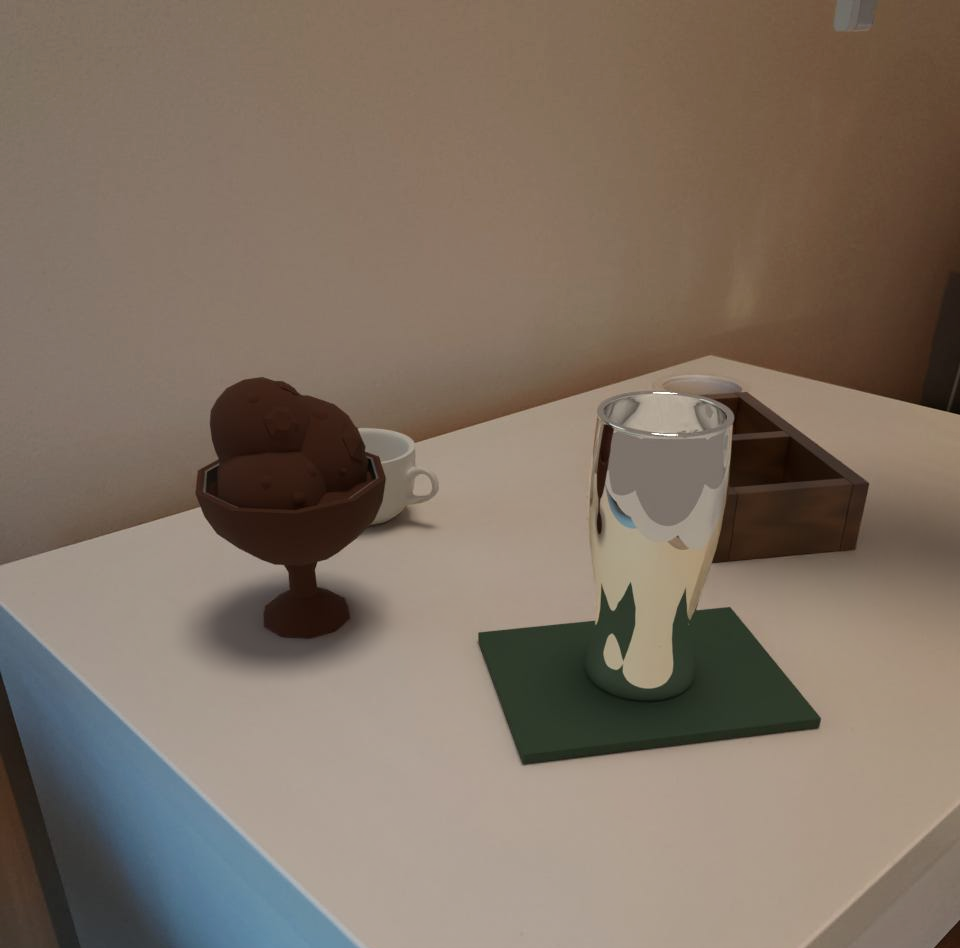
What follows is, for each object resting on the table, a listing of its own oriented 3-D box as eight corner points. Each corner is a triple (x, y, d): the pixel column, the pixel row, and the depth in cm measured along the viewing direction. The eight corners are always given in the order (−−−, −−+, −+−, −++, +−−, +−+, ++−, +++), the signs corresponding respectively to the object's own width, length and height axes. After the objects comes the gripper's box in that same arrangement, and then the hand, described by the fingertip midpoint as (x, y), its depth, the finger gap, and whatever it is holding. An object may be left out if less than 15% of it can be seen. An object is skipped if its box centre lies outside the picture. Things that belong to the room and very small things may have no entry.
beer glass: (554, 679, 55) (565, 417, 47) (614, 626, 60) (633, 380, 52) (668, 722, 52) (702, 447, 44) (722, 662, 57) (761, 405, 49)
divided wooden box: (739, 447, 87) (747, 391, 84) (855, 549, 70) (869, 483, 68) (621, 456, 85) (626, 399, 83) (711, 562, 69) (720, 495, 66)
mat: (729, 614, 62) (730, 606, 62) (819, 727, 52) (821, 718, 52) (478, 640, 60) (478, 632, 60) (522, 764, 50) (523, 754, 50)
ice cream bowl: (295, 684, 56) (264, 426, 48) (183, 616, 62) (139, 380, 55) (429, 613, 63) (421, 377, 55) (315, 559, 69) (293, 341, 61)
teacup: (294, 524, 74) (287, 455, 71) (346, 487, 80) (341, 422, 77) (415, 548, 70) (412, 477, 68) (460, 507, 76) (459, 440, 74)
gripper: (1132, -272, 53) (1055, 30, 61) (775, -291, 50) (738, 31, 57) (1228, -305, 48) (1131, 31, 55) (836, -328, 45) (787, 32, 52)
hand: (928, 31), depth 56 cm, fingers open, 8 cm apart
